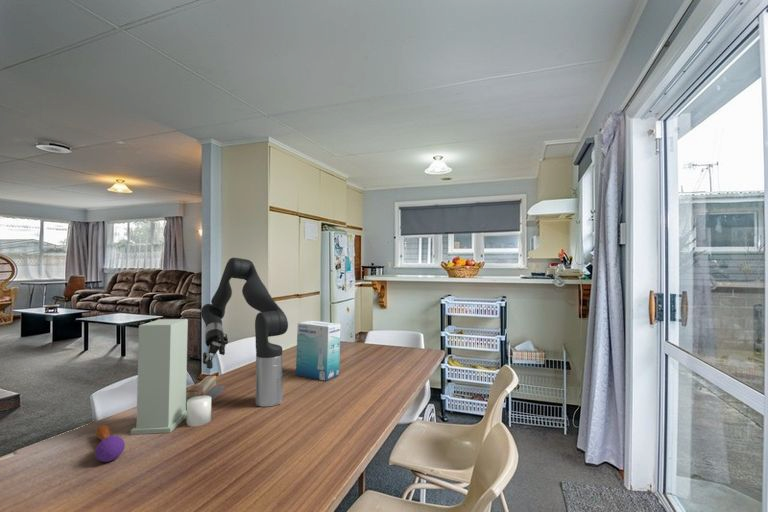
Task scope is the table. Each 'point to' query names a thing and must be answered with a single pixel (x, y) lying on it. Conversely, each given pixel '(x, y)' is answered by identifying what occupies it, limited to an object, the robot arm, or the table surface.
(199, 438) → the table surface
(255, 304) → the robot arm
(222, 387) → the mat
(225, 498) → the table surface
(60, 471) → the table surface
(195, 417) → the white short cylinder
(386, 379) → the table surface
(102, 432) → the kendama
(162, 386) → the stand
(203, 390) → the catapult arm
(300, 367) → the toothbrush box
